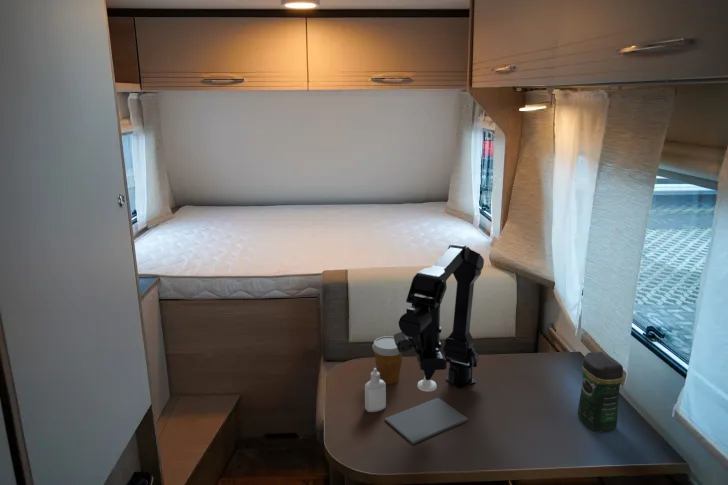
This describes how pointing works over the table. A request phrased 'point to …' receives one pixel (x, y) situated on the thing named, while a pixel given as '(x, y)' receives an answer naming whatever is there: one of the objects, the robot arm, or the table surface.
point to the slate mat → (425, 420)
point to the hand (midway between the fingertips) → (427, 377)
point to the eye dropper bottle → (375, 393)
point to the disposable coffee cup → (387, 359)
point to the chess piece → (426, 385)
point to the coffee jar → (600, 392)
